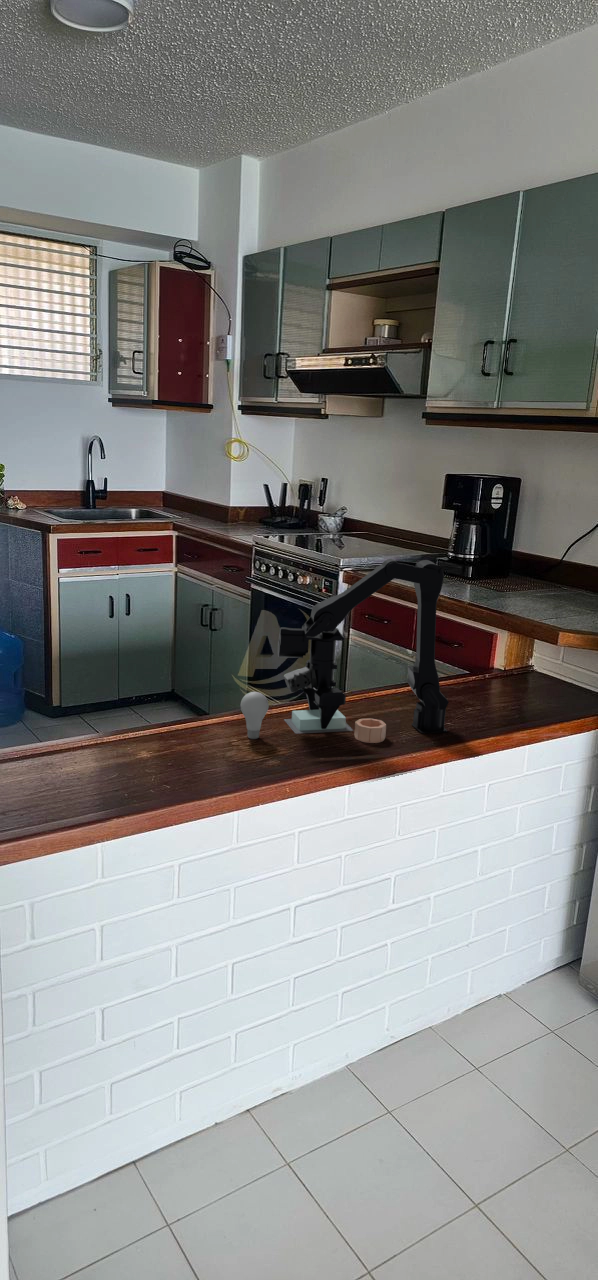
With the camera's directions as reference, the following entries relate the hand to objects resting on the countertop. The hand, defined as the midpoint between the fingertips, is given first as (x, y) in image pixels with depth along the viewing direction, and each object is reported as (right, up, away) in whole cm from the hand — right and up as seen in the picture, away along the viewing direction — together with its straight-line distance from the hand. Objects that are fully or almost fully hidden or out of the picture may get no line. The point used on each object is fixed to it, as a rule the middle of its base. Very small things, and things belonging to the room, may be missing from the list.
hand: (318, 722), depth 202 cm
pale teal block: (0, 0, 0) cm, 0 cm away
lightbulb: (-15, -3, -10) cm, 18 cm away
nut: (+11, -3, -6) cm, 13 cm away
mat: (0, -1, 0) cm, 1 cm away
